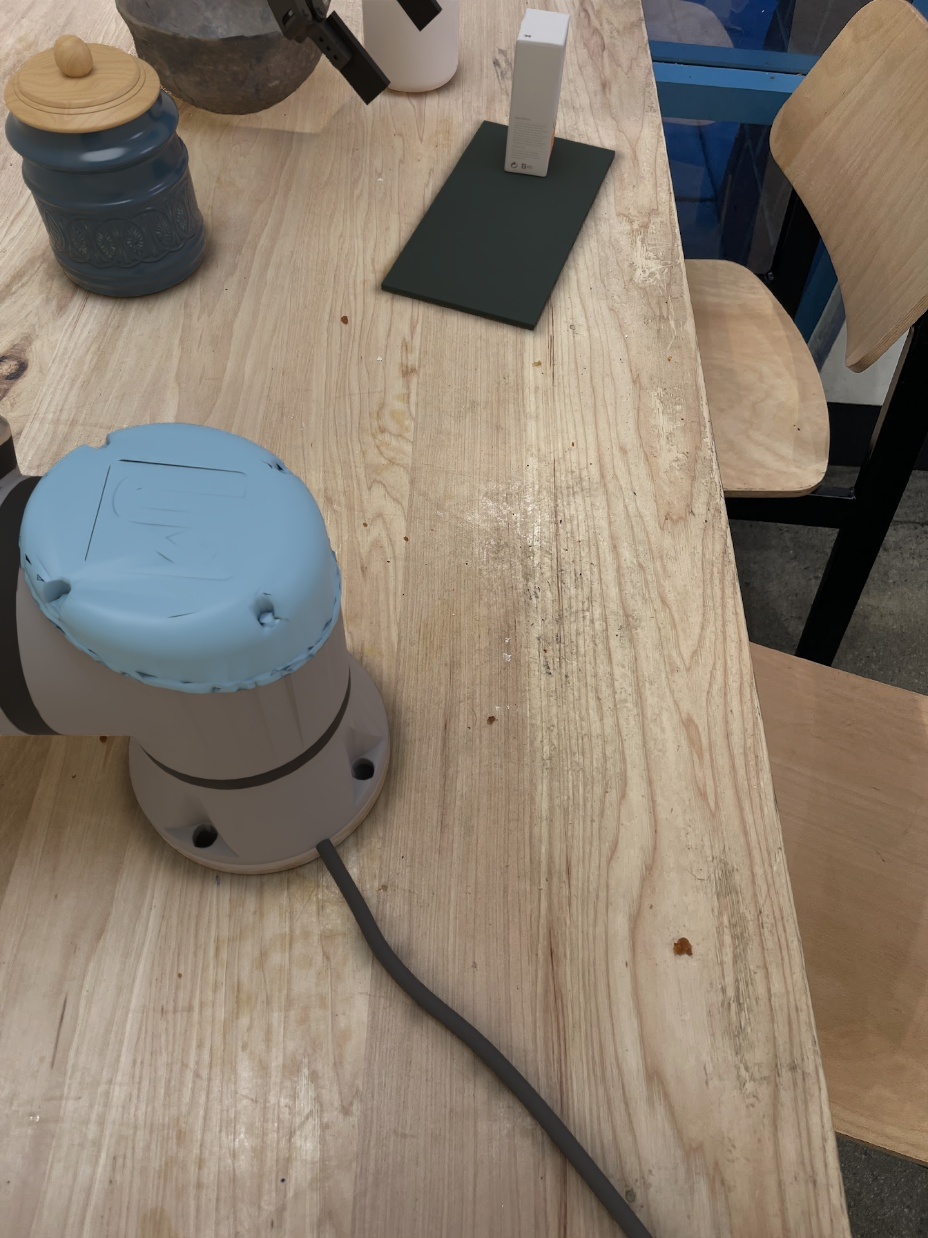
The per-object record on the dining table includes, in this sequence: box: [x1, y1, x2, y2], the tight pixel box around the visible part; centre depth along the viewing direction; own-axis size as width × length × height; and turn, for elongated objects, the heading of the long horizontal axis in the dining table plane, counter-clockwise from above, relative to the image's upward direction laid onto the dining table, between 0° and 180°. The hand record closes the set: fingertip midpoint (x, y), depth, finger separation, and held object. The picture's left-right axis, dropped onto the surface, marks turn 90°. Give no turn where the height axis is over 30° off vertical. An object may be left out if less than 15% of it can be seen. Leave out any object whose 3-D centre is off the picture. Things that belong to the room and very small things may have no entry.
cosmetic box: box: [505, 7, 571, 177], centre depth 82 cm, size 6×4×12 cm
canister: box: [3, 34, 207, 298], centre depth 71 cm, size 13×13×18 cm
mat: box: [380, 119, 616, 331], centre depth 83 cm, size 28×14×1 cm, turn 161°
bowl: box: [114, 0, 332, 116], centre depth 89 cm, size 21×21×10 cm
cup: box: [361, 0, 461, 93], centre depth 92 cm, size 10×10×10 cm
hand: (406, 55), depth 77 cm, fingers open, 13 cm apart
